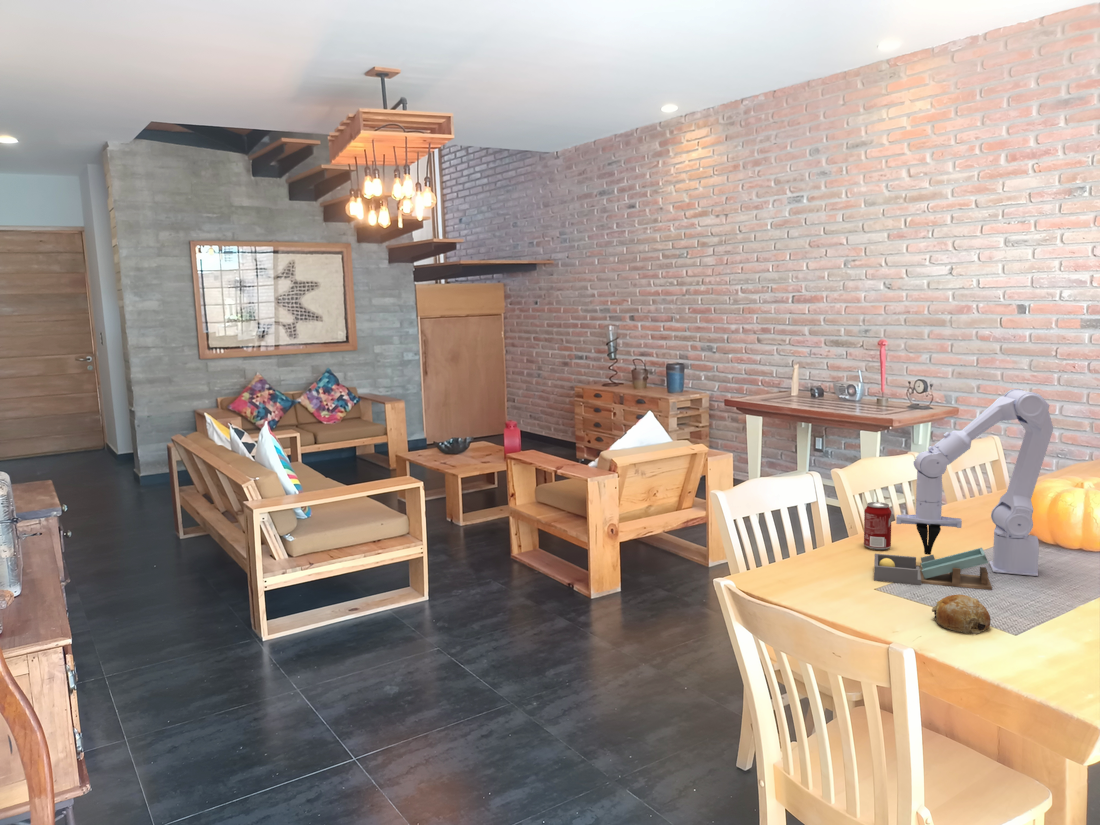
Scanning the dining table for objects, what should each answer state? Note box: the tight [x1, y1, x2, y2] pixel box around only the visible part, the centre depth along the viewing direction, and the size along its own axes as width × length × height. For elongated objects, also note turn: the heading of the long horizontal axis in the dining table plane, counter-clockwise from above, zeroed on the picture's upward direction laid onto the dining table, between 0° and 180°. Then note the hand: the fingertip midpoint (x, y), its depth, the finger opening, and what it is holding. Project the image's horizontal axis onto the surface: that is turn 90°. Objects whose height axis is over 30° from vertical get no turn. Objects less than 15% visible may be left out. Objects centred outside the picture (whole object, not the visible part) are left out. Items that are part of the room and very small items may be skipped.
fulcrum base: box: [920, 566, 993, 591], centre depth 185 cm, size 15×8×4 cm, turn 67°
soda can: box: [863, 501, 893, 551], centre depth 213 cm, size 7×7×12 cm
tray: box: [873, 553, 922, 586], centre depth 190 cm, size 10×11×4 cm
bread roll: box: [931, 594, 991, 635], centre depth 160 cm, size 10×10×8 cm
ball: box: [879, 558, 895, 567], centre depth 191 cm, size 4×4×4 cm
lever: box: [920, 547, 989, 579], centre depth 189 cm, size 14×14×2 cm
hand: (927, 553), depth 196 cm, fingers closed
